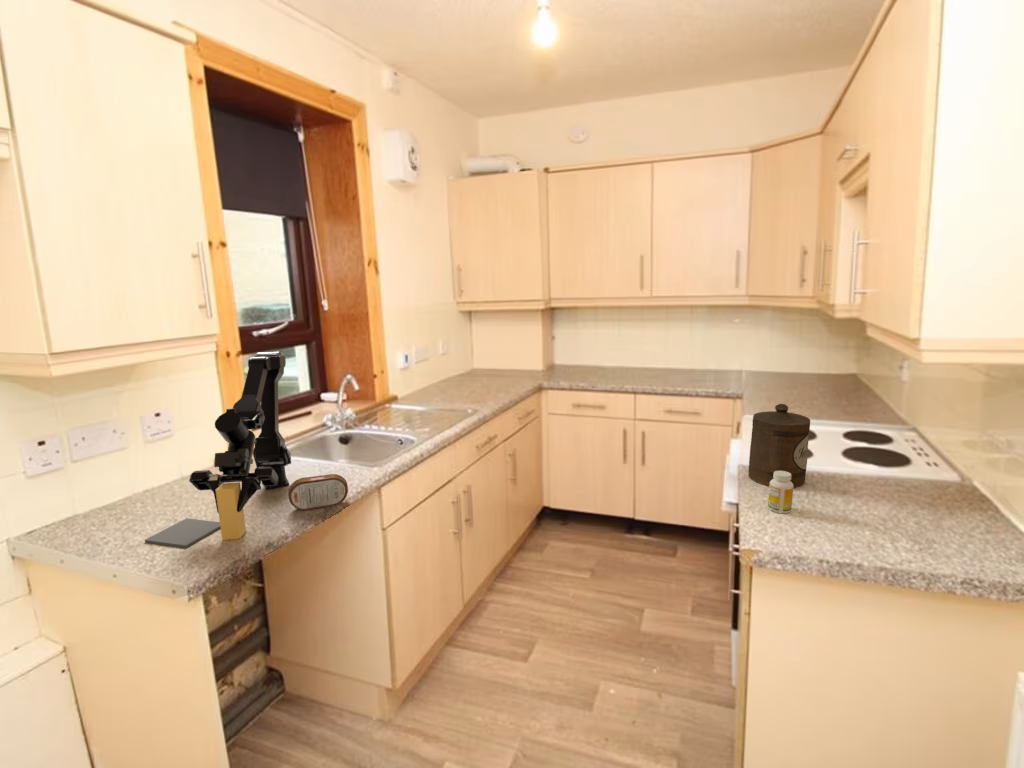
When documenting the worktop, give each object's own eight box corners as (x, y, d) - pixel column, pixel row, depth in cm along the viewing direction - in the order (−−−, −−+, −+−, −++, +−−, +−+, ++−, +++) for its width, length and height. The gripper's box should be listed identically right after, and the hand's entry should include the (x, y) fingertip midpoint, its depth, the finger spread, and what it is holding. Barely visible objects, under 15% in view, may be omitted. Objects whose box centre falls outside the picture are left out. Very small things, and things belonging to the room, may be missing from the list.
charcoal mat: (144, 542, 132) (144, 539, 132) (186, 520, 143) (186, 518, 143) (186, 547, 128) (185, 545, 128) (225, 525, 140) (225, 522, 140)
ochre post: (228, 532, 136) (222, 483, 133) (246, 531, 136) (239, 482, 134) (222, 540, 132) (215, 489, 129) (240, 538, 132) (233, 488, 130)
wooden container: (810, 490, 152) (817, 411, 148) (751, 486, 156) (756, 409, 152) (799, 471, 166) (805, 399, 162) (745, 468, 170) (749, 397, 166)
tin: (348, 500, 154) (346, 470, 152) (349, 504, 151) (347, 474, 149) (289, 509, 148) (286, 479, 147) (289, 514, 146) (286, 483, 144)
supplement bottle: (768, 512, 139) (771, 475, 137) (766, 504, 144) (769, 468, 142) (792, 515, 137) (795, 478, 136) (790, 506, 142) (792, 470, 140)
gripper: (187, 438, 132) (171, 501, 124) (269, 434, 134) (259, 496, 126) (205, 459, 142) (192, 519, 133) (282, 455, 143) (273, 514, 135)
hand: (228, 512), depth 131 cm, fingers closed on ochre post, 4 cm apart
